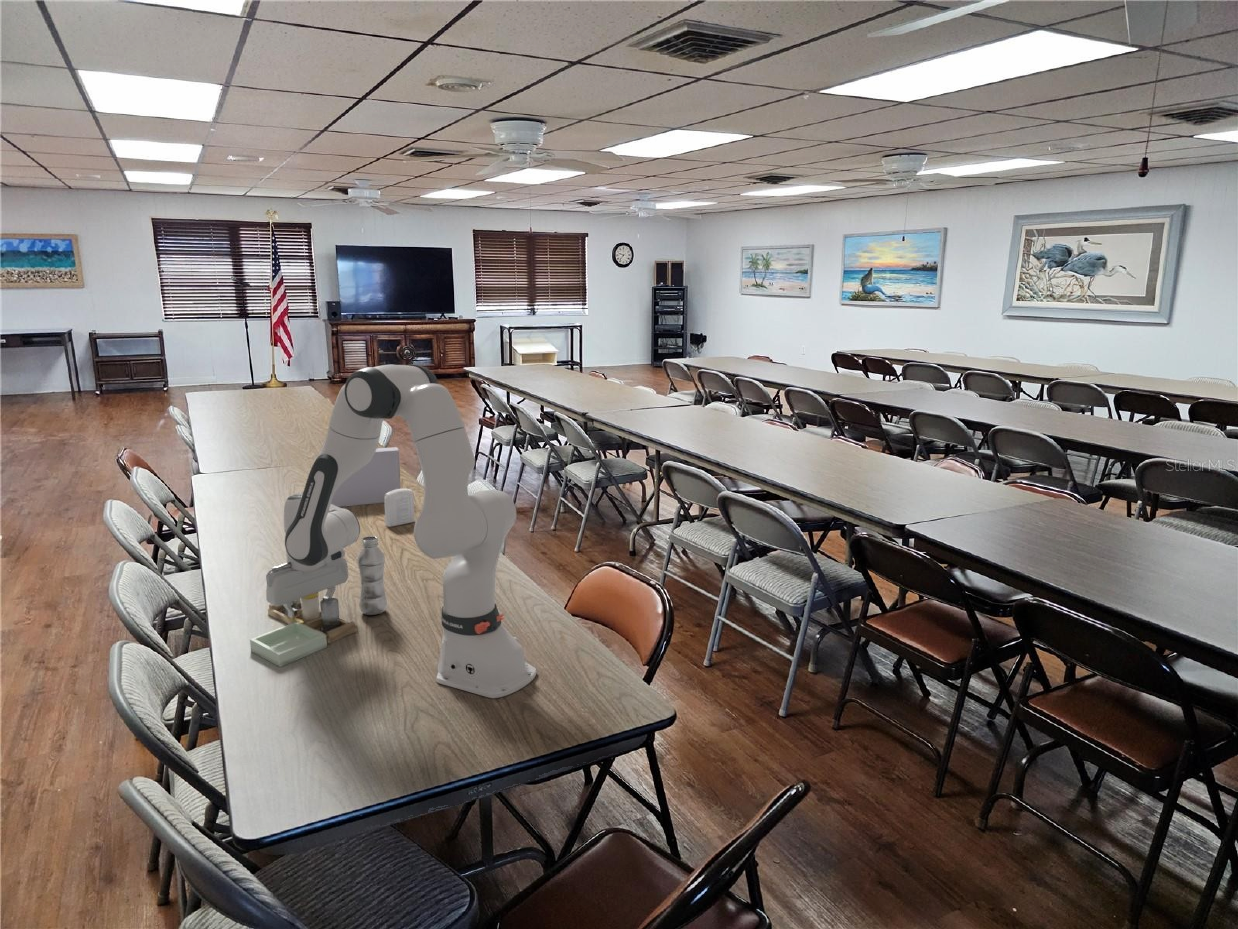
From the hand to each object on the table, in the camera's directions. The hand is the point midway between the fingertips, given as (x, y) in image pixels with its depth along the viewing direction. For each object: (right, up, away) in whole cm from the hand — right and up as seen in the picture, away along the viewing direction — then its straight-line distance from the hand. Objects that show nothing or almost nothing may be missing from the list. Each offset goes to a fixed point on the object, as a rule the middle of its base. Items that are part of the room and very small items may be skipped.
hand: (310, 610), depth 186 cm
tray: (0, -7, -12) cm, 14 cm away
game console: (-20, +21, +97) cm, 102 cm away
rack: (0, -3, +1) cm, 3 cm away
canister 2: (+7, -5, -4) cm, 9 cm away
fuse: (0, -3, +1) cm, 3 cm away
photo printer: (0, +15, +75) cm, 77 cm away
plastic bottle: (+13, -2, +7) cm, 15 cm away
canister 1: (-7, -2, +5) cm, 9 cm away
